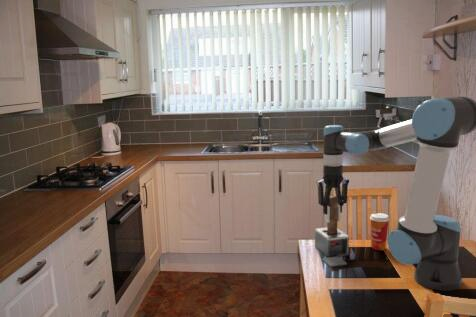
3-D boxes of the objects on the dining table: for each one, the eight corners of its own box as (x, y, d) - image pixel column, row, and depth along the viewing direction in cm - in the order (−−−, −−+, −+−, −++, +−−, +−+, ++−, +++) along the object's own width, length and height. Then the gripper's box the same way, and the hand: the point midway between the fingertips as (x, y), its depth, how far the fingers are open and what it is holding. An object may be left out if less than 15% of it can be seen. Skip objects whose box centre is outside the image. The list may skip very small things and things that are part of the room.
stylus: (334, 235, 182) (334, 195, 179) (339, 238, 178) (339, 197, 175) (325, 236, 181) (325, 196, 178) (330, 239, 177) (330, 198, 174)
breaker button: (324, 246, 182) (324, 240, 182) (333, 245, 183) (333, 238, 183) (328, 250, 178) (329, 243, 177) (338, 249, 179) (338, 242, 178)
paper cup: (365, 245, 185) (366, 213, 183) (380, 243, 188) (382, 211, 185) (376, 252, 178) (377, 219, 175) (392, 250, 180) (393, 217, 178)
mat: (338, 257, 174) (338, 256, 174) (346, 264, 167) (346, 263, 167) (321, 259, 172) (322, 258, 172) (330, 267, 166) (330, 265, 165)
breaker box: (315, 246, 185) (315, 228, 184) (334, 244, 188) (334, 226, 186) (327, 257, 174) (328, 238, 172) (348, 255, 176) (348, 236, 175)
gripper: (347, 161, 180) (346, 216, 184) (309, 164, 175) (309, 220, 180) (357, 164, 172) (356, 221, 177) (317, 167, 168) (317, 226, 172)
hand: (332, 220), depth 178 cm, fingers closed on stylus, 4 cm apart
